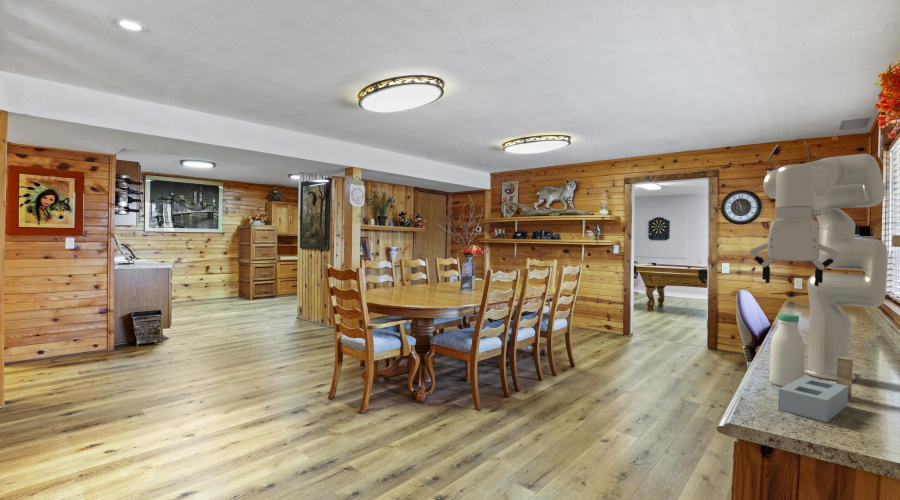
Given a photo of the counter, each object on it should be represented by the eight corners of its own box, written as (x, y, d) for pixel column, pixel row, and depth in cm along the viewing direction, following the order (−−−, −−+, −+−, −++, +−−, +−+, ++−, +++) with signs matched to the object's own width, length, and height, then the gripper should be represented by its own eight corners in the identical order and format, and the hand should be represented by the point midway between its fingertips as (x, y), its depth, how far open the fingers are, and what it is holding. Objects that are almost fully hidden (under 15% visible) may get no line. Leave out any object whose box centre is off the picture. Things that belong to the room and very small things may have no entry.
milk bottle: (809, 390, 120) (812, 317, 119) (778, 388, 121) (780, 316, 121) (793, 381, 127) (796, 313, 127) (763, 379, 129) (766, 311, 128)
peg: (837, 393, 118) (839, 356, 118) (852, 396, 115) (854, 359, 115) (834, 395, 116) (836, 358, 116) (849, 398, 114) (851, 360, 113)
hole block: (802, 395, 116) (802, 376, 115) (847, 406, 108) (848, 385, 108) (777, 409, 105) (778, 388, 105) (826, 422, 98) (827, 400, 98)
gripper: (839, 215, 106) (837, 286, 106) (753, 216, 117) (750, 280, 117) (841, 213, 100) (838, 288, 100) (750, 215, 111) (747, 282, 111)
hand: (791, 284), depth 109 cm, fingers open, 9 cm apart
